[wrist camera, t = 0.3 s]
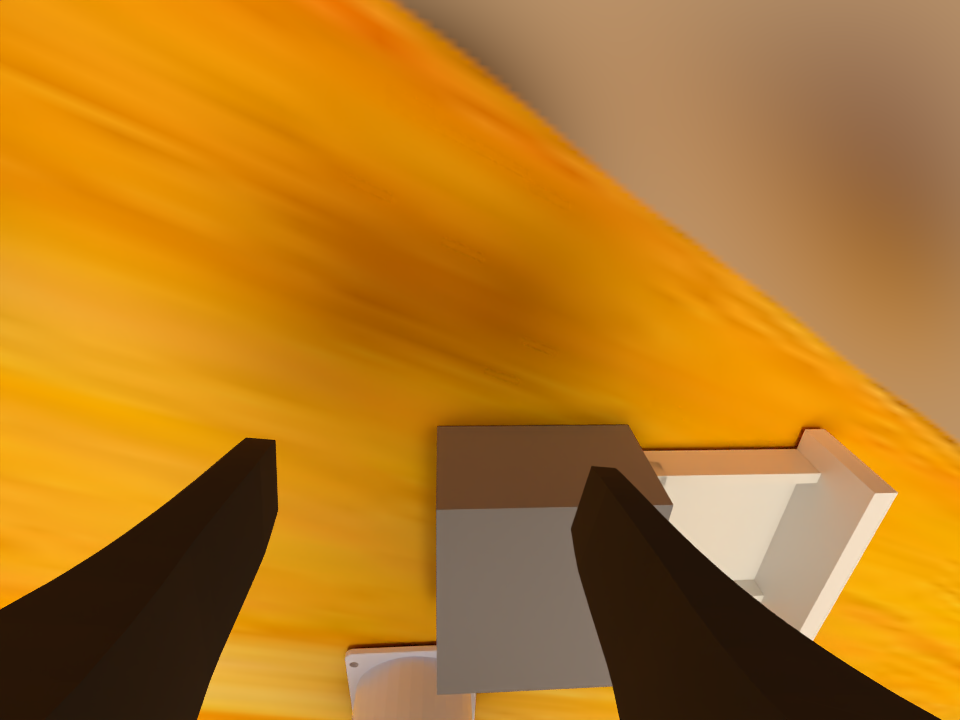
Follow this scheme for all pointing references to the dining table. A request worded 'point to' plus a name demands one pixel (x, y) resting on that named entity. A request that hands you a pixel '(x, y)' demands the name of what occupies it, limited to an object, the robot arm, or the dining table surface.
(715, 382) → the dining table surface
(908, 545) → the dining table surface
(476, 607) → the block
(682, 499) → the tray
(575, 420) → the dining table surface
